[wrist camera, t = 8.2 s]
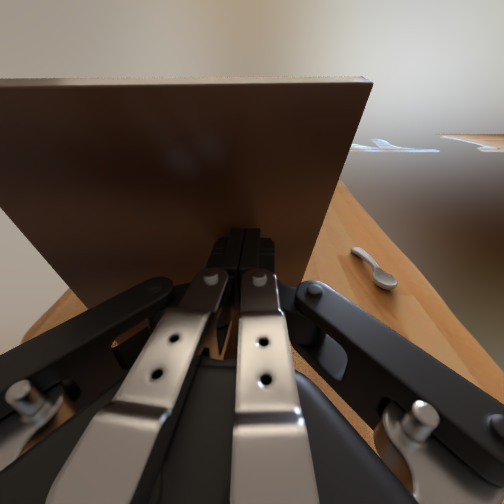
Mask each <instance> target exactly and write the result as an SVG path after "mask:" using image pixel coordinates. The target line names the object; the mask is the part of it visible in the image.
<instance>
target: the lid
mask: <svg viewBox="0 0 504 504" xmlns="http://www.w3.org/2000/svg"><path fill="white" fill-rule="evenodd" d="M372 87H373V82H371V81H370V80H368V79H366V78H364V77H229V78H228V77H227V78H226V77H225V78H223V77H221V78H220V77H219V78H218V77H216V78H53V79H52V78H49V79H46V78H41V79H0V207H1V209H2V210H3V211H4V212H5V213H6V215H7V216H8V217H9V218H10V219H11V220H12V221H13V223H14V224H15V225H16V226H17V227H18V228H19V230H20V231H21V232H22V233H23V234H24V235H25V236H26V238H27V239H28V240H29V241H30V242H31V243H32V245H33V246H34V247H35V248H36V249H37V250H38V252H40V254H41V255H42V256H43V257H44V258H45V260H46V261H47V262H48V263H49V264H50V265H51V266H52V268H53V269H54V270H55V271H56V272H57V273H58V275H59V276H60V277H61V278H62V279H63V280H64V281H65V283H66V284H67V285H68V286H69V287H70V289H71V290H72V291H73V292H74V293H75V294H76V296H77V297H78V298H79V299H80V300H81V301H82V303H83V304H84V305H85V306H86V307H87V308H88V309H91V308H93V307H95V306H97V305H99V304H101V303H102V302H104V301H106V300H108V299H110V298H112V297H114V296H116V295H118V294H120V293H122V292H124V291H126V290H128V289H130V288H132V287H133V286H135V285H137V284H139V283H141V282H143V281H145V280H147V279H150V278H153V277H160V276H162V277H167V278H170V279H171V280H172V281H173V285H180V284H185V283H189V282H192V280H193V278H194V276H195V274H196V273H197V272H199V271H200V270H202V269H205V267H206V264H207V262H208V259H209V256H210V254H211V251H212V249H213V246H214V243H215V242H216V241H217V240H218V239H219V238H220V237H228V236H229V233H230V230H231V228H245V229H246V228H260V238H271V239H272V240H273V242H274V243H275V271H276V277H277V278H278V280H279V281H281V282H282V283H284V284H286V285H289V286H292V287H297V286H298V285H299V284H300V283H301V281H302V278H303V276H304V273H305V270H306V267H307V265H308V262H309V259H310V256H311V254H312V251H313V248H314V246H315V243H316V240H317V237H318V235H319V232H320V229H321V226H322V224H323V221H324V218H325V215H326V213H327V210H328V207H329V204H330V202H331V199H332V196H333V194H334V191H335V188H336V185H337V183H338V180H339V177H340V174H341V172H342V169H343V166H344V163H345V161H346V158H347V155H348V152H349V150H350V147H351V144H352V141H353V139H354V136H355V133H356V131H357V128H358V125H359V122H360V120H361V117H362V114H363V111H364V109H365V106H366V103H367V100H368V98H369V95H370V92H371V89H372ZM239 312H241V306H240V311H234V313H233V318H232V321H234V320H238V319H239ZM146 327H147V323H146V320H144V321H142V322H141V323H139V324H137V325H136V326H134V327H133V328H131V329H129V330H128V331H126V332H124V333H123V334H121V335H120V336H118V337H117V338H116V339H115V341H116V342H117V343H118V344H121V343H122V342H124V341H126V340H127V339H129V338H130V337H132V336H133V335H135V334H136V333H138V332H140V331H141V330H143V329H144V328H146Z"/></svg>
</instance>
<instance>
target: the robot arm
mask: <svg viewBox="0 0 504 504" xmlns="http://www.w3.org/2000/svg"><path fill="white" fill-rule="evenodd" d="M240 306H241V312H239V330H238V354H237V357H236V358H231V359H226V360H223V358H224V354H225V351H226V347H227V343H228V339H229V335H230V332H231V328H232V318H233V313H234V311H240ZM144 320H146V323H147V327H146V328H144V329H143V330H141V331H140V332H138V333H136V334H135V335H133V336H132V337H130V338H129V339H127V340H126V341H124V342H122V343H121V344H119V345H118V346H116V347H114V348H111V345H112V343H113V341H114V340H115V339H116V338H117V337H118V336H120V335H121V334H123V333H124V332H126V331H128V330H129V329H131V328H133V327H134V326H136V325H137V324H139V323H141V322H142V321H144ZM290 341H291V344H292V347H293V348H294V349H295V350H296V351H297V352H298V353H299V354H300V355H301V357H302V358H303V359H304V360H305V361H306V362H307V363H308V364H309V365H310V366H311V367H312V368H313V369H314V370H315V371H316V372H317V373H318V374H319V375H320V376H321V377H322V378H323V379H324V380H325V381H326V382H327V383H328V384H329V385H330V386H331V387H332V388H333V389H334V391H335V392H336V393H337V394H338V395H339V396H340V397H341V398H342V399H343V400H344V401H345V402H346V403H347V404H348V405H349V406H350V407H351V408H352V409H353V410H354V411H355V412H356V413H357V414H358V415H359V416H360V417H361V418H362V419H363V420H364V421H365V422H366V423H367V425H368V426H369V427H370V428H371V429H372V430H373V431H374V434H373V439H374V444H375V447H376V450H377V452H378V454H379V456H380V457H379V456H378V455H377V454H376V453H375V452H374V450H373V449H372V448H371V447H370V446H369V445H368V444H367V442H366V441H365V440H364V439H363V438H362V437H361V436H360V434H359V433H358V432H357V431H356V430H355V429H354V427H353V426H352V425H351V424H350V423H349V422H348V421H347V419H346V418H345V417H344V416H343V415H342V414H341V413H340V411H339V410H338V409H337V408H336V407H335V406H334V405H333V403H332V402H331V401H330V400H329V399H328V398H327V396H326V395H325V394H324V393H323V392H322V391H321V390H320V389H319V387H318V386H317V385H316V384H315V383H313V382H312V381H311V380H310V379H309V378H307V377H306V376H305V375H303V374H302V373H300V372H298V371H296V370H294V365H293V359H292V353H291V347H290ZM381 459H382V460H381ZM503 499H504V405H503V404H502V403H501V402H499V401H498V400H496V399H495V398H493V397H492V396H490V395H489V394H487V393H486V392H484V391H483V390H481V389H480V388H478V387H477V386H475V385H474V384H472V383H471V382H469V381H468V380H466V379H465V378H464V377H462V376H461V375H459V374H458V373H456V372H455V371H453V370H452V369H450V368H449V367H447V366H446V365H444V364H443V363H441V362H440V361H438V360H437V359H435V358H434V357H432V356H431V355H429V354H428V353H427V352H425V351H424V350H422V349H421V348H419V347H418V346H416V345H415V344H413V343H412V342H410V341H409V340H407V339H406V338H404V337H403V336H401V335H400V334H398V333H397V332H395V331H394V330H392V329H391V328H390V327H388V326H387V325H385V324H384V323H382V322H381V321H379V320H378V319H376V318H375V317H373V316H372V315H370V314H369V313H367V312H366V311H364V310H363V309H361V308H360V307H358V306H357V305H356V304H354V303H353V302H351V301H350V300H348V299H347V298H345V297H344V296H342V295H341V294H339V293H338V292H336V291H335V290H333V289H332V288H330V287H329V286H327V285H326V284H324V283H321V282H318V281H305V282H302V283H300V284H299V285H298V286H297V287H292V286H289V285H286V284H284V283H282V282H281V281H279V280H278V278H277V277H276V271H275V243H274V242H273V240H272V239H271V238H260V228H246V229H245V228H231V230H230V233H229V236H228V237H220V238H219V239H218V240H217V241H216V242H215V243H214V246H213V249H212V251H211V254H210V256H209V259H208V262H207V264H206V267H205V269H202V270H200V271H199V272H197V273H196V274H195V276H194V278H193V280H192V282H189V283H185V284H180V285H173V281H172V280H171V279H170V278H167V277H162V276H160V277H153V278H150V279H147V280H145V281H143V282H141V283H139V284H137V285H135V286H133V287H132V288H130V289H128V290H126V291H124V292H122V293H120V294H118V295H116V296H114V297H112V298H110V299H108V300H106V301H104V302H102V303H101V304H99V305H97V306H95V307H93V308H91V309H89V310H87V311H85V312H83V313H81V314H79V315H77V316H75V317H73V318H71V319H70V320H68V321H66V322H64V323H62V324H60V325H58V326H56V327H54V328H52V329H50V330H48V331H46V332H44V333H42V334H40V335H39V336H37V337H35V338H33V339H31V340H29V341H27V342H25V343H23V344H21V345H19V346H17V347H15V348H13V349H11V350H9V351H8V352H6V353H4V354H2V355H0V504H501V503H502V501H503Z"/></svg>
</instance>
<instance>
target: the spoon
mask: <svg viewBox="0 0 504 504" xmlns="http://www.w3.org/2000/svg"><path fill="white" fill-rule="evenodd" d="M351 252H353V253H354V254H356V255H358V256H359V257H361V258H362V259H364V260H365V261H366V262H367V263H368V264H369V265H370V266H371V267H372V269H373V271H374V273H373V280H374V282H375V283H376V284H377V285H378V286H379V287H381V288H383V289H388V290H391V289H394V288H396V286H397V280H396V279H395V278H394V277H393V276H392V275H390V274H388V273H386V272H384V271H383V270H382V269H381V268H380V267H379V266H378V264H377V263H376V262H375V261H374V259H373V258H372V257H371V256H370V255H369V254H367V253H366V252H365V251H364V250H363V249H362V248H360V247H353V248H351Z"/></svg>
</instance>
